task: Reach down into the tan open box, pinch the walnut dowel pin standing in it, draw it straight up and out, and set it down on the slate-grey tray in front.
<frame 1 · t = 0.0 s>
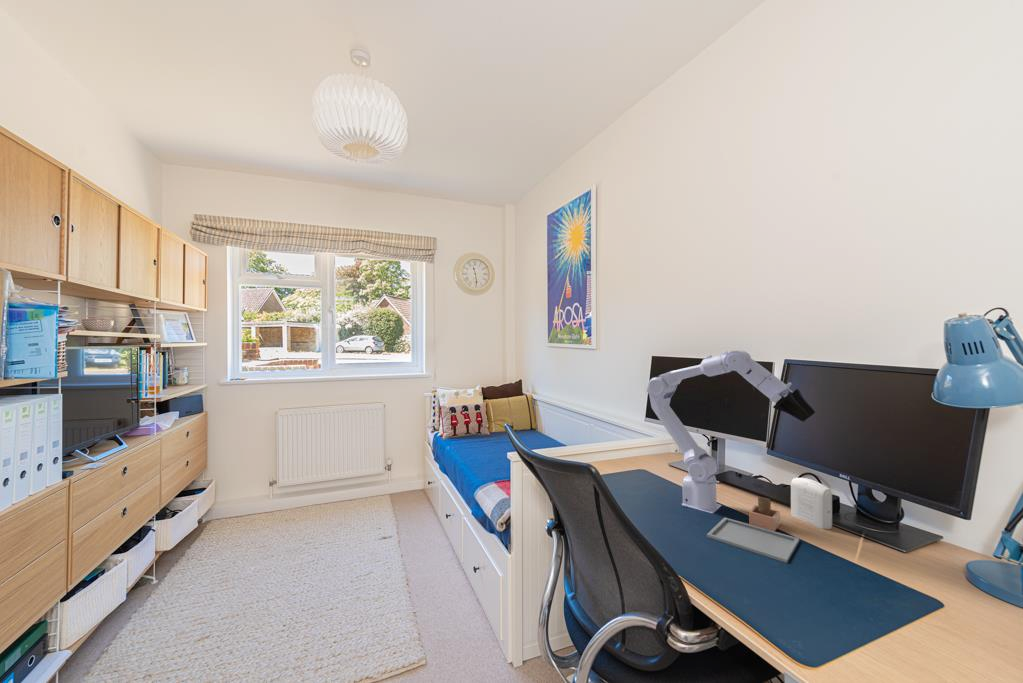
hand: (809, 416, 106), 32 cm above the table, tool tilted 50°, fingers open, 7 cm apart
pin: (764, 523, 113), resting on tan open box
tan open box: (764, 525, 113), on the table
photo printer: (811, 523, 114), on the table
tray: (752, 540, 105), on the table
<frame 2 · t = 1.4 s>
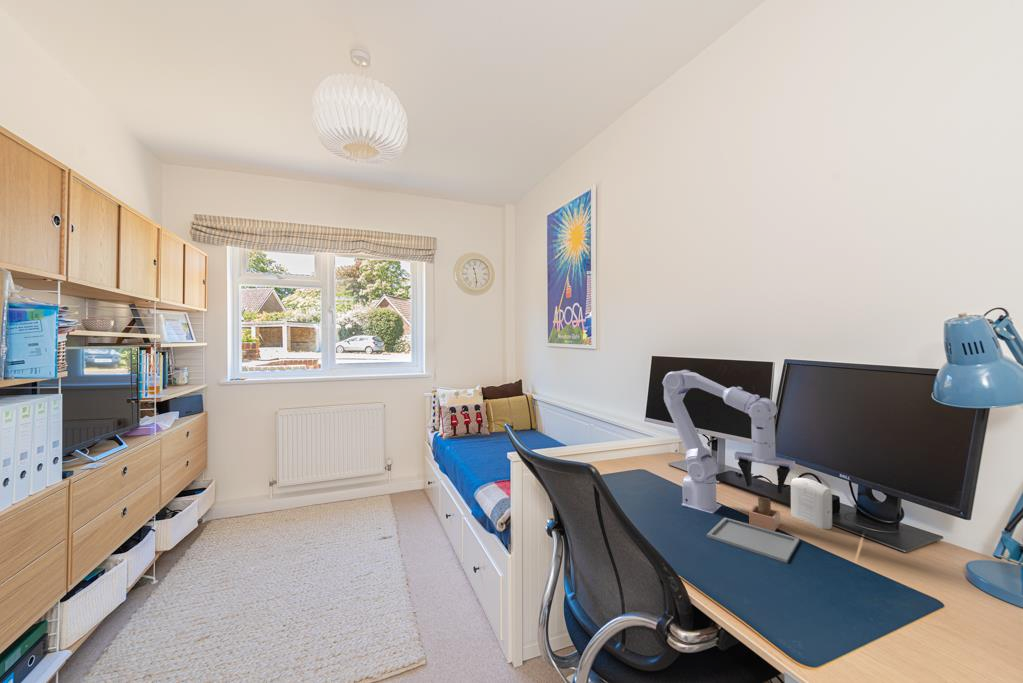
hand: (764, 489, 113), 10 cm above the table, tool pointing down, fingers open, 7 cm apart
nothing on the table moved.
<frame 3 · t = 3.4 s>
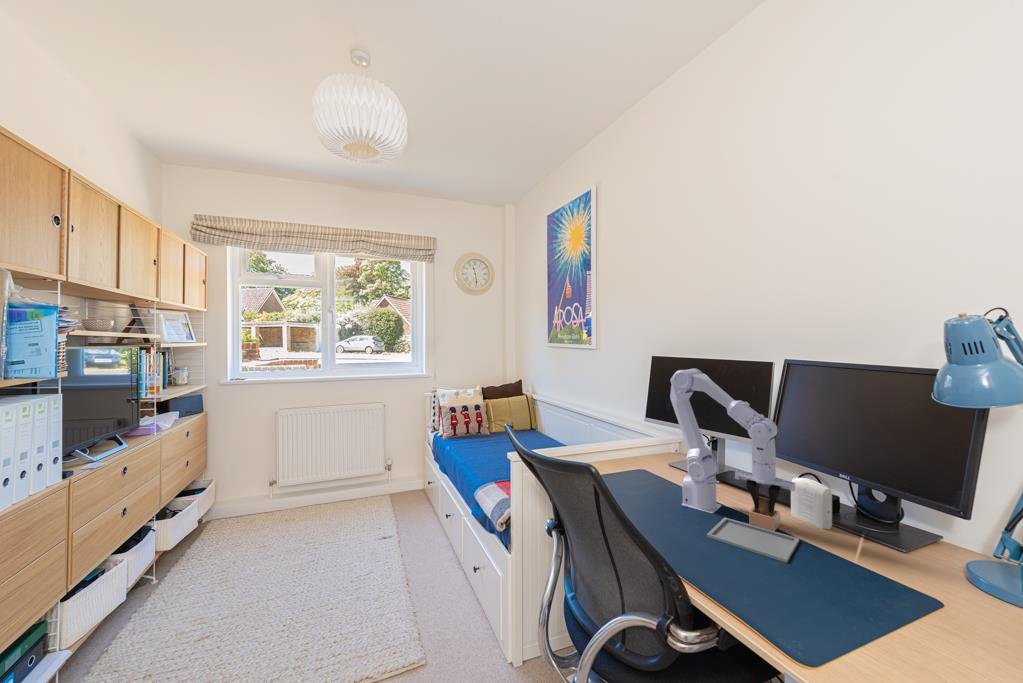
hand: (764, 509, 113), 5 cm above the table, tool pointing down, fingers closed on pin, 3 cm apart
pin: (764, 523, 113), resting on tan open box, touching gripper
everything else where it was.
when the fingers open (6 cm above the table, at t = 7.1 s): pin stays where it is, resting on tray.
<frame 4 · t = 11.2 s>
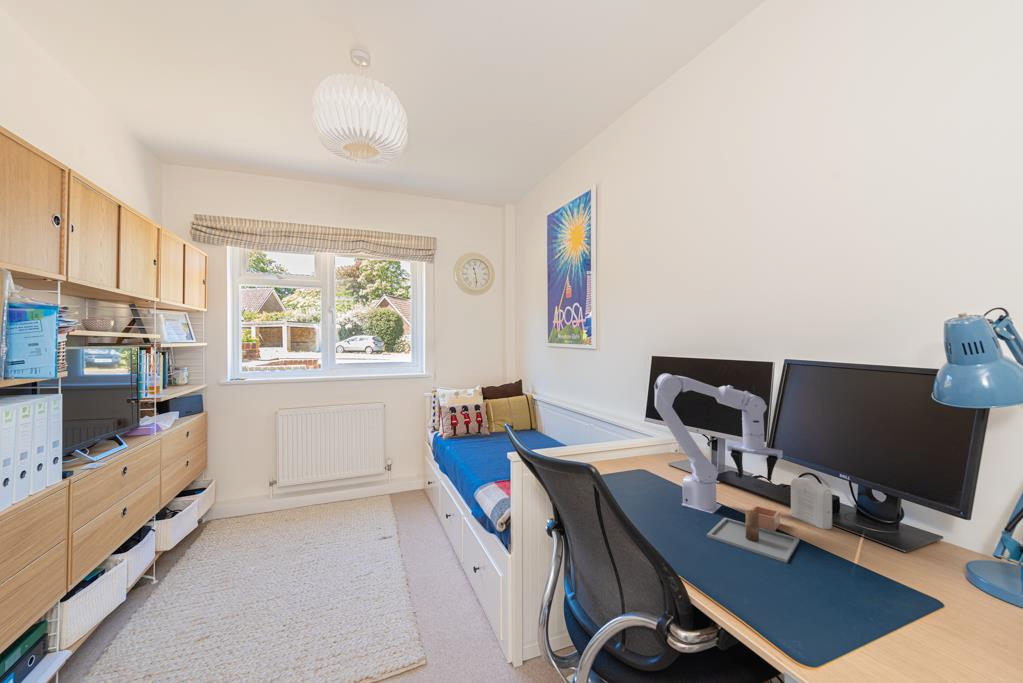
hand: (754, 477, 123), 10 cm above the table, tool pointing down, fingers open, 7 cm apart
pin: (752, 538, 105), point 1 cm above the table, touching tray
everything else where it was.
at the end: pin inside the target area on the tray (0.0 cm from its centre), point 0.5 cm above the tray's base; pin touching tray; the gripper is holding nothing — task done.
